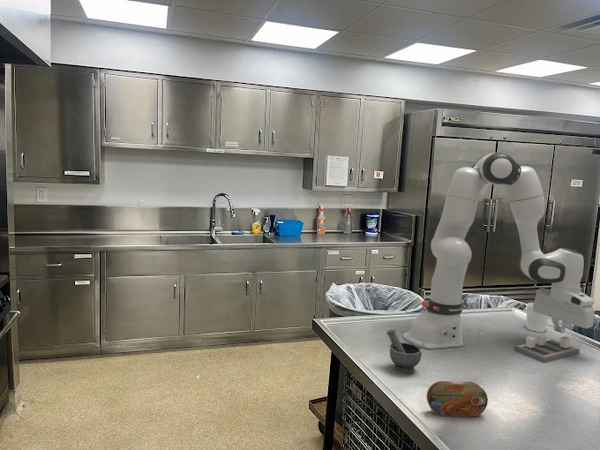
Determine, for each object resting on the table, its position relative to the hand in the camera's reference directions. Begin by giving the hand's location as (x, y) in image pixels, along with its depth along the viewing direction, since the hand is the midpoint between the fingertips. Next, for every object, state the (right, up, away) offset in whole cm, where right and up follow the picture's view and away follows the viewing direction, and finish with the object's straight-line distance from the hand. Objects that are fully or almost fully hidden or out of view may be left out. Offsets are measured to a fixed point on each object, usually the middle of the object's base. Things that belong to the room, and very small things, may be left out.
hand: (559, 331), depth 161 cm
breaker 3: (+1, -5, -1) cm, 5 cm away
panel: (-5, -7, -1) cm, 9 cm away
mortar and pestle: (-61, -7, -20) cm, 65 cm away
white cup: (+3, -5, +22) cm, 23 cm away
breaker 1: (-12, -5, -2) cm, 13 cm away
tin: (-53, -10, -45) cm, 70 cm away
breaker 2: (-6, -5, +1) cm, 8 cm away
